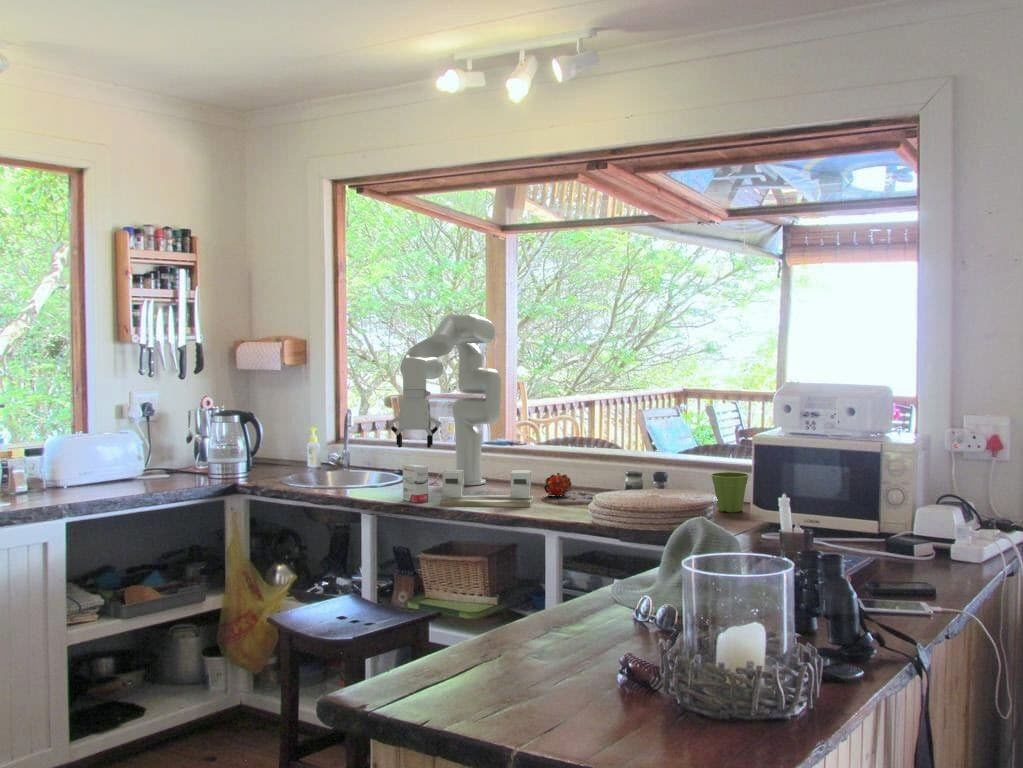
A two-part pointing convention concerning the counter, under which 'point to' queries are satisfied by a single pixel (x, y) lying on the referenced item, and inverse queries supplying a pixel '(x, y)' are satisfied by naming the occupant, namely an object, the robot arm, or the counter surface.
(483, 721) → the counter surface
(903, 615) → the counter surface
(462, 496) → the rail board
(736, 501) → the plant pot
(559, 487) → the dragon fruit
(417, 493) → the ink box
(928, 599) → the counter surface
